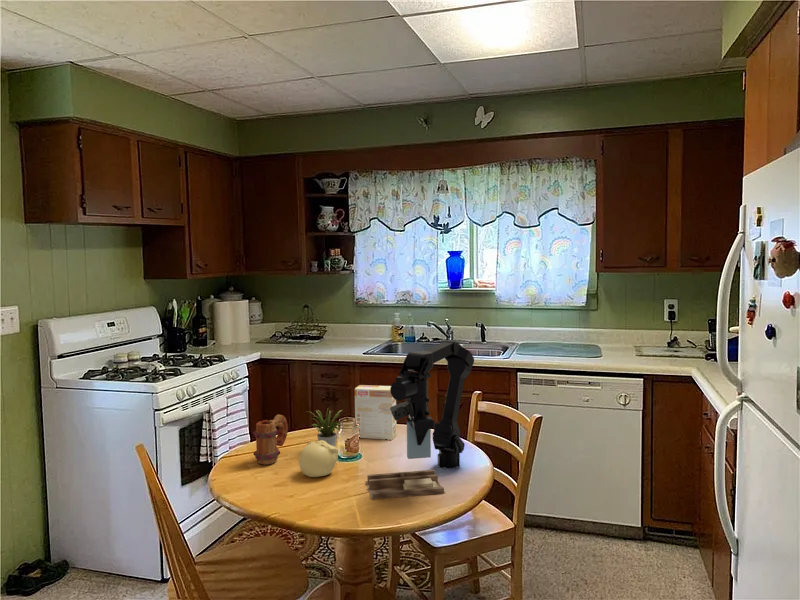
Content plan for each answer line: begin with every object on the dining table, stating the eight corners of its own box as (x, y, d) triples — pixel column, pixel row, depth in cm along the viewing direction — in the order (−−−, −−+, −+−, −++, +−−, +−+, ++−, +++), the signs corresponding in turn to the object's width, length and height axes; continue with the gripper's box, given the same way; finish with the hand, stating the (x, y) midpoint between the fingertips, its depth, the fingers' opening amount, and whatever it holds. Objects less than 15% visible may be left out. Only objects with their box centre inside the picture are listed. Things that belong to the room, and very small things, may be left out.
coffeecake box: (397, 434, 239) (396, 385, 237) (392, 440, 232) (392, 390, 230) (360, 432, 242) (359, 384, 241) (355, 438, 235) (354, 388, 234)
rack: (434, 478, 193) (434, 468, 193) (445, 496, 179) (445, 484, 179) (365, 484, 189) (365, 473, 189) (371, 502, 176) (371, 490, 175)
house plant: (300, 458, 213) (298, 412, 212) (307, 445, 227) (306, 402, 225) (340, 458, 212) (339, 412, 211) (346, 445, 226) (345, 402, 225)
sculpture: (343, 471, 200) (342, 439, 199) (319, 483, 190) (318, 449, 189) (317, 465, 207) (316, 433, 206) (292, 476, 197) (291, 443, 196)
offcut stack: (435, 485, 185) (435, 477, 185) (438, 490, 181) (438, 482, 181) (403, 487, 184) (402, 480, 183) (405, 493, 179) (405, 485, 179)
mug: (265, 469, 203) (264, 424, 202) (248, 464, 208) (246, 421, 206) (295, 456, 216) (294, 414, 214) (278, 452, 220) (277, 411, 219)
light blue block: (429, 455, 189) (429, 420, 188) (430, 457, 187) (430, 422, 186) (407, 456, 188) (406, 421, 187) (408, 459, 186) (407, 423, 185)
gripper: (387, 388, 193) (387, 436, 195) (397, 402, 175) (398, 455, 176) (421, 386, 195) (421, 434, 197) (435, 400, 177) (435, 453, 178)
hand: (418, 443), depth 187 cm, fingers closed on light blue block, 2 cm apart
